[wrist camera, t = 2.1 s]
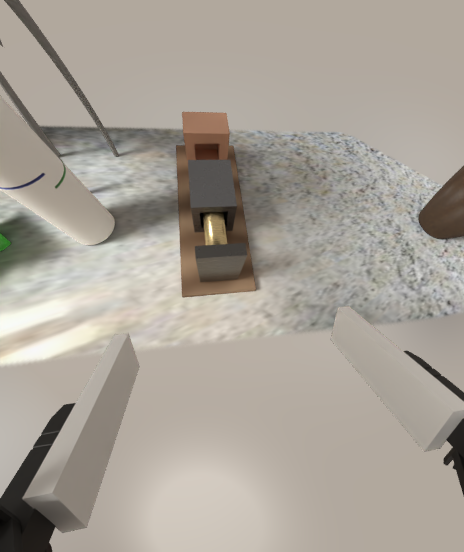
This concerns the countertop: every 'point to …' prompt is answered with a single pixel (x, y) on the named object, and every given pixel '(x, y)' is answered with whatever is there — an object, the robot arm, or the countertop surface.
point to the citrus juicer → (34, 29)
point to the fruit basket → (3, 242)
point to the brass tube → (218, 252)
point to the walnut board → (192, 239)
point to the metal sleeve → (211, 191)
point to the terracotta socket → (206, 135)
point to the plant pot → (446, 210)
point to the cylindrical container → (47, 183)
